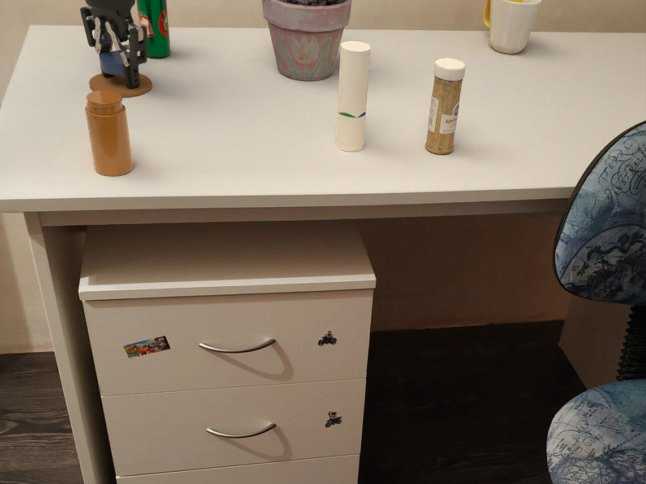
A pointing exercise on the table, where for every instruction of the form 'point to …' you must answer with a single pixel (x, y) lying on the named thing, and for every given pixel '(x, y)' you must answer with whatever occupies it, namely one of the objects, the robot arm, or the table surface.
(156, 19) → the soda can
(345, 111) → the tube
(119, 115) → the jar
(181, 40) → the table surface
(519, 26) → the mug
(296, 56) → the potted plant
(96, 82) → the coaster
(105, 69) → the jar lid
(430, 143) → the sprinkles bottle
